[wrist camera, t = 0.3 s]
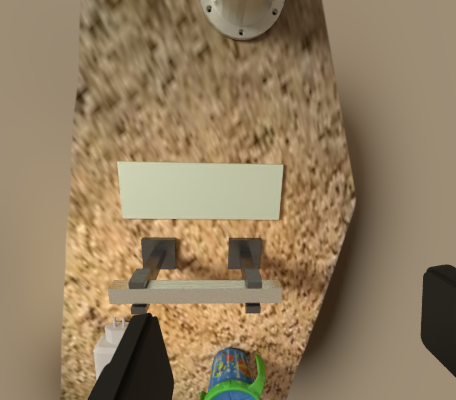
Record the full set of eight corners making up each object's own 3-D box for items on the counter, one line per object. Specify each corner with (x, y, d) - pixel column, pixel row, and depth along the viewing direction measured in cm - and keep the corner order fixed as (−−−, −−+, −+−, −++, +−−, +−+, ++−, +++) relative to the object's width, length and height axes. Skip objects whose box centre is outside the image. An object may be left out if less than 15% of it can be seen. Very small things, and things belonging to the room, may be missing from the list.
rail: (114, 280, 35) (108, 288, 34) (278, 280, 36) (282, 288, 35) (115, 294, 36) (109, 303, 34) (277, 294, 37) (280, 302, 35)
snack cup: (215, 391, 56) (214, 445, 46) (187, 362, 54) (180, 413, 44) (272, 357, 54) (284, 407, 45) (246, 326, 52) (253, 371, 42)
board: (119, 161, 42) (117, 161, 41) (282, 164, 43) (283, 164, 42) (124, 217, 44) (122, 218, 44) (277, 218, 46) (278, 219, 45)
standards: (142, 237, 46) (112, 279, 33) (260, 238, 47) (277, 278, 34) (144, 266, 47) (117, 317, 34) (258, 266, 48) (273, 316, 35)
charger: (146, 309, 50) (149, 367, 54) (100, 308, 50) (105, 366, 53) (139, 326, 45) (142, 388, 49) (88, 326, 45) (95, 388, 49)
